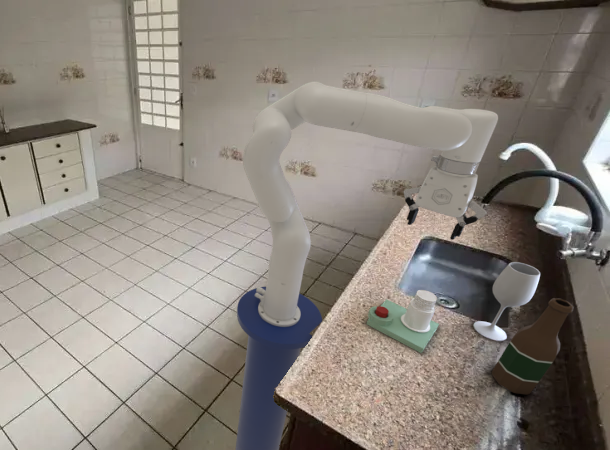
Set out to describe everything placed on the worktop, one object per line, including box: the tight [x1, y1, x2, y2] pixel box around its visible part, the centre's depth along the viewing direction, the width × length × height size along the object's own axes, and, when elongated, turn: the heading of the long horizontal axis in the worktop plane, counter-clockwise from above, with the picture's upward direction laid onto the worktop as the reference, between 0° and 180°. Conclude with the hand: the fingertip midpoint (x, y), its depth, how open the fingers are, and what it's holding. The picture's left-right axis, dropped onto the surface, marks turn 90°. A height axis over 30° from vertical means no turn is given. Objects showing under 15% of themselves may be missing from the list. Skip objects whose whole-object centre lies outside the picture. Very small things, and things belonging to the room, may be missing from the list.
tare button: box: [375, 305, 389, 318], centre depth 97 cm, size 3×3×2 cm
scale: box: [366, 298, 440, 354], centre depth 97 cm, size 15×13×4 cm
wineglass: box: [473, 261, 541, 342], centre depth 91 cm, size 8×8×21 cm
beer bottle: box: [491, 297, 575, 395], centre depth 77 cm, size 8×8×24 cm
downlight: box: [401, 289, 438, 333], centre depth 94 cm, size 8×7×10 cm
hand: (431, 230), depth 89 cm, fingers open, 9 cm apart
